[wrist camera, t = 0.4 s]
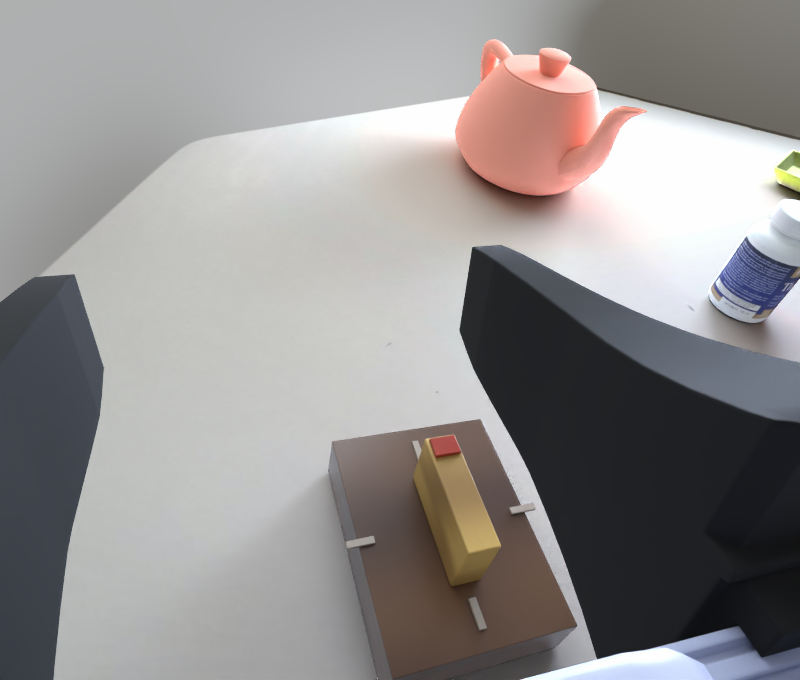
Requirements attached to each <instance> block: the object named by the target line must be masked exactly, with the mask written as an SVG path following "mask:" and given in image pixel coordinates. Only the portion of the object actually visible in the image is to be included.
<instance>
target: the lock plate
mask: <svg viewBox="0 0 800 680" xmlns="http://www.w3.org/2000/svg"><path fill="white" fill-rule="evenodd" d="M447 435H455V438H456V440H457V442H458V445H459V447H460V449H461V452H462V454H463V456H464V459H465V461H466V464H467V466H468V468H469V471H470V473H471V475H472V478H473V480H474V483H475V485H476V487H477V490H478V492H479V494H480V497H481V499H482V501H483V504H484V506H485V509H486V511H487V513H488V516H489V518H490V520H491V523H492V525H493V528H494V530H495V532H496V535H497V537H498V539H499V542H500V544H501V548H500V549H499V551H498V553H497V554H496V556H495V557H494V559H493V561H492V562H491V564H490V566H489V567H488V569H487V570H486V572H485V574H484V575H483V577H482V578H481V579H480V580H476V581H472V582H468V583H464V584H460V585H456V586H451V585H450V583H449V580H448V577H447V574H446V571H445V568H444V565H443V562H442V559H441V557H440V554H439V551H438V548H437V545H436V542H435V539H434V536H433V533H432V531H431V528H430V525H429V522H428V519H427V516H426V513H425V510H424V507H423V505H422V502H421V499H420V496H419V493H418V490H417V487H416V484H415V481H414V479H413V475H414V472H415V469H416V466H417V463H418V460H419V457H420V454H421V450H422V447H423V444H424V441H425V439H428V438H435V437H441V436H447ZM328 472H329V476H330V481H331V485H332V489H333V493H334V497H335V502H336V506H337V510H338V514H339V518H340V522H341V527H342V531H343V535H344V539H345V544H346V549H347V552H348V556H349V560H350V564H351V569H352V573H353V577H354V581H355V585H356V589H357V594H358V598H359V602H360V606H361V610H362V615H363V619H364V623H365V627H366V631H367V635H368V640H369V644H370V648H371V652H372V656H373V661H374V665H375V669H376V673H377V677H378V680H448V679H451V678H455V677H458V676H461V675H465V674H468V673H471V672H475V671H478V670H481V669H485V668H488V667H491V666H495V665H498V664H501V663H505V662H508V661H511V660H515V659H518V658H521V657H525V656H528V655H531V654H535V653H538V652H541V651H545V650H548V649H551V648H555V647H556V646H557V645H558V644H559V643H560V642H561V641H562V640H563V639H564V638H565V637H566V636H567V635H568V634H569V633H570V632H572V631H573V630H574V629H575V628H576V627H577V624H576V622H575V619H574V617H573V615H572V613H571V611H570V609H569V607H568V605H567V602H566V600H565V598H564V596H563V594H562V592H561V590H560V587H559V585H558V583H557V581H556V579H555V577H554V575H553V572H552V570H551V568H550V566H549V564H548V562H547V560H546V558H545V555H544V553H543V551H542V549H541V547H540V545H539V543H538V540H537V538H536V536H535V534H534V532H533V530H532V528H531V525H530V523H529V521H528V519H527V517H526V515H525V513H524V512H528V511H533V510H535V506H534V504H533V503H529V504H524V505H521V504H520V502H519V500H518V498H517V496H516V493H515V491H514V489H513V487H512V485H511V483H510V481H509V478H508V476H507V474H506V472H505V470H504V468H503V466H502V464H501V461H500V459H499V457H498V455H497V453H496V451H495V449H494V446H493V444H492V442H491V440H490V438H489V436H488V434H487V432H486V429H485V427H484V425H483V423H482V421H481V419H478V420H471V421H465V422H458V423H452V424H445V425H438V426H432V427H425V428H419V429H412V430H405V431H399V432H392V433H386V434H379V435H372V436H366V437H359V438H353V439H346V440H339V441H333V442H332V448H331V455H330V462H329V470H328Z"/></svg>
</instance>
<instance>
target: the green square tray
mask: <svg viewBox="0 0 800 680" xmlns="http://www.w3.org/2000/svg"><path fill="white" fill-rule="evenodd" d="M774 173H775V177H776V180H777V182H778V183H779V184H781V185H784V186H786V187H788V188H790V189H793V190H795V191H797V192H799V193H800V152H799V151H796V150H791V151H790V152H789V153H788V154H787V155H786V156H785V157H784V158H782V159H781V160H780V161H779V162H778V163H777V164H776V165H775V166H774Z"/></svg>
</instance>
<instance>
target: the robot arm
mask: <svg viewBox="0 0 800 680" xmlns="http://www.w3.org/2000/svg"><path fill="white" fill-rule="evenodd" d="M460 333H461V336H462V339H463V342H464V345H465V348H466V351H467V353H468V356H469V358H470V361H471V364H472V366H473V369H474V371H475V373H476V375H477V377H478V379H479V380H480V382H481V384H482V386H483V388H484V390H485V391H486V393H487V395H488V397H489V399H490V401H491V402H492V404H493V406H494V408H495V409H496V411H497V413H498V415H499V417H500V418H501V420H502V422H503V424H504V426H505V427H506V429H507V431H508V433H509V435H510V436H511V438H512V440H513V442H514V443H515V445H516V447H517V449H518V451H519V452H520V454H521V456H522V458H523V460H524V462H525V464H526V466H527V468H528V470H529V472H530V475H531V477H532V480H533V482H534V484H535V487H536V489H537V492H538V494H539V496H540V499H541V501H542V504H543V506H544V508H545V511H546V513H547V516H548V518H549V521H550V523H551V526H552V529H553V531H554V534H555V537H556V539H557V542H558V544H559V547H560V550H561V552H562V555H563V557H564V560H565V563H566V566H567V569H568V572H569V575H570V577H571V580H572V583H573V586H574V589H575V592H576V595H577V598H578V600H579V603H580V606H581V609H582V612H583V615H584V618H585V622H586V625H587V628H588V631H589V634H590V638H591V641H592V644H593V647H594V650H595V654H596V657H597V660H594V661H590V662H586V663H582V664H578V665H575V666H571V667H567V668H563V669H559V670H556V671H552V672H548V673H544V674H540V675H536V676H533V677H529V678H525V679H521V680H800V363H798V362H794V361H789V360H785V359H780V358H776V357H772V356H768V355H764V354H760V353H756V352H752V351H748V350H745V349H741V348H738V347H734V346H731V345H728V344H724V343H721V342H718V341H714V340H711V339H708V338H705V337H702V336H699V335H696V334H693V333H690V332H687V331H684V330H681V329H679V328H676V327H673V326H671V325H668V324H665V323H663V322H660V321H658V320H655V319H652V318H650V317H647V316H645V315H643V314H640V313H638V312H635V311H633V310H631V309H629V308H627V307H624V306H622V305H620V304H618V303H616V302H614V301H612V300H609V299H607V298H605V297H603V296H601V295H599V294H597V293H595V292H593V291H591V290H589V289H587V288H585V287H583V286H581V285H579V284H577V283H575V282H574V281H572V280H570V279H568V278H566V277H564V276H562V275H560V274H559V273H557V272H555V271H553V270H551V269H549V268H547V267H545V266H544V265H542V264H540V263H538V262H536V261H534V260H532V259H530V258H528V257H526V256H525V255H523V254H521V253H518V252H516V251H514V250H512V249H510V248H507V247H505V246H502V245H495V246H480V247H472V253H471V259H470V266H469V272H468V279H467V285H466V292H465V298H464V305H463V311H462V318H461V324H460ZM103 371H104V367H103V364H102V361H101V357H100V354H99V351H98V348H97V345H96V341H95V338H94V335H93V332H92V329H91V326H90V322H89V319H88V316H87V313H86V310H85V307H84V303H83V300H82V297H81V294H80V291H79V287H78V284H77V281H76V278H75V275H59V276H45V277H34V278H33V279H31V280H29V281H28V282H27V283H25V284H24V285H22V286H21V287H20V288H18V289H17V290H15V291H14V292H13V293H12V294H10V295H9V296H8V297H7V298H5V299H4V300H3V301H1V302H0V680H53V677H54V665H55V655H56V645H57V636H58V626H59V616H60V607H61V599H62V591H63V583H64V575H65V567H66V559H67V551H68V546H69V541H70V536H71V531H72V526H73V522H74V518H75V514H76V510H77V506H78V502H79V498H80V494H81V490H82V486H83V482H84V478H85V474H86V470H87V466H88V462H89V458H90V454H91V450H92V446H93V442H94V438H95V434H96V430H97V425H98V421H99V417H100V408H101V398H102V385H103Z"/></svg>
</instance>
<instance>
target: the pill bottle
mask: <svg viewBox="0 0 800 680" xmlns="http://www.w3.org/2000/svg"><path fill="white" fill-rule="evenodd" d="M769 219H770V220H763V221H759V222H757V223H755V224H754V225H753V226H752V227H751V228H750V229H749V231H748V232H747V233H746V235H745V236H744V238H743V239H742V240H741V242H740V243H739V245H738V246H737V248H736V249H735V251H734V252H733V254H732V255H731V257H730V258H729V260H728V261H727V262H726V264H725V265H724V267H723V268H722V270H721V271H720V272H719V274H718V275H717V277H716V278H715V279H714V281H713V283H712V284H711V286H710V288H709V291H708V293H709V298H710V300H711V301H712V303H713V304H714V305H715V306H716V307H717V308H718V309H719V310H721V311H722V312H723V313H725V314H727V315H728V316H730V317H733V318H735V319H737V320H740V321H743V322H748V323H757V322H761V321H763V320H765V319H766V318H767V317H768V316H769V315H770V314H771V313H772V311H773V310H774V309H775V308H776V307H777V305H778V304H779V303H780V302H781V300H782V299H783V298H784V297H785V296H786V294H787V293H788V292H789V291H790V290H791V289H792V287H793V286H794V285H795V284H796V282H797V281H798V280H799V279H800V201H797V200H792V199H785V200H781V201H780V202H779V203H778V205H777V206H776V207H775V209H774V210H773V211H772V212H771V214H770V217H769Z"/></svg>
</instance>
